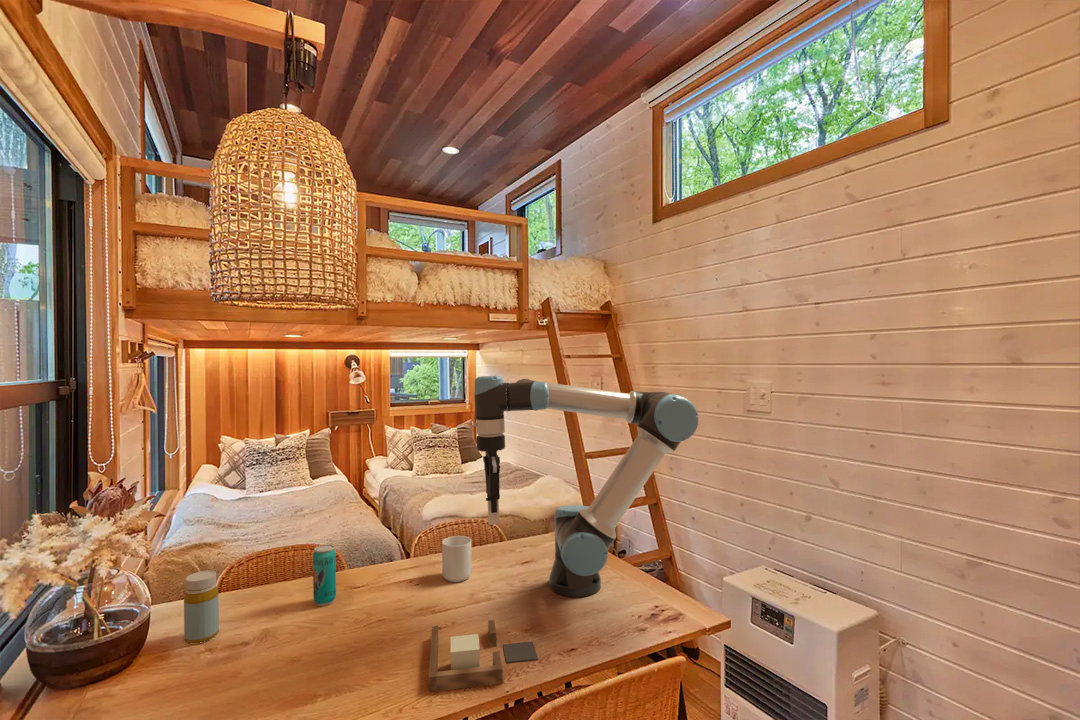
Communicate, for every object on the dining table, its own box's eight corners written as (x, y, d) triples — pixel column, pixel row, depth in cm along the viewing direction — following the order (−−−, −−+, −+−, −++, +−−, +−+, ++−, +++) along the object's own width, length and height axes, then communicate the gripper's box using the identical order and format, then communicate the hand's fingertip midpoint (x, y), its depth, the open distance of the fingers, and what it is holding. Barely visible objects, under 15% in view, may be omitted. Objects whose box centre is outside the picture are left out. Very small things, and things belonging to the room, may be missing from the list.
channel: (494, 632, 127) (494, 619, 127) (502, 683, 107) (502, 668, 107) (432, 638, 124) (431, 625, 124) (428, 691, 104) (428, 677, 104)
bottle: (225, 632, 127) (224, 571, 127) (198, 647, 121) (197, 583, 121) (205, 627, 130) (204, 568, 130) (177, 642, 123) (176, 579, 123)
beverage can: (308, 605, 141) (308, 550, 141) (324, 595, 146) (324, 543, 146) (325, 608, 139) (324, 553, 139) (340, 599, 144) (340, 545, 144)
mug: (472, 582, 155) (471, 545, 154) (442, 584, 153) (441, 547, 153) (470, 565, 166) (470, 531, 166) (442, 567, 165) (442, 533, 165)
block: (478, 660, 115) (478, 634, 115) (479, 677, 109) (479, 649, 109) (451, 663, 114) (450, 636, 114) (450, 680, 108) (450, 652, 108)
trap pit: (532, 642, 122) (532, 641, 122) (537, 659, 115) (537, 658, 115) (503, 645, 121) (503, 644, 121) (506, 663, 114) (506, 661, 114)
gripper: (473, 432, 142) (476, 517, 142) (479, 439, 129) (482, 533, 129) (500, 430, 143) (503, 514, 144) (508, 437, 131) (512, 529, 131)
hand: (493, 523), depth 137 cm, fingers closed
